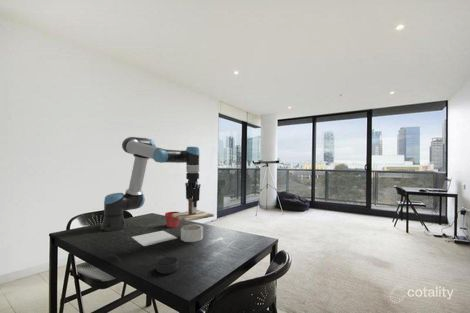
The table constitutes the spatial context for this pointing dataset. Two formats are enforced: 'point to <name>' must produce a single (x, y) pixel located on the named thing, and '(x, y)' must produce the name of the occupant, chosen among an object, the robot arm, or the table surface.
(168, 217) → the flower pot
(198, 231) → the bowl
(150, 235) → the tray
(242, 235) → the table surface
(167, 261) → the smart speaker
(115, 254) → the table surface
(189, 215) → the lid
